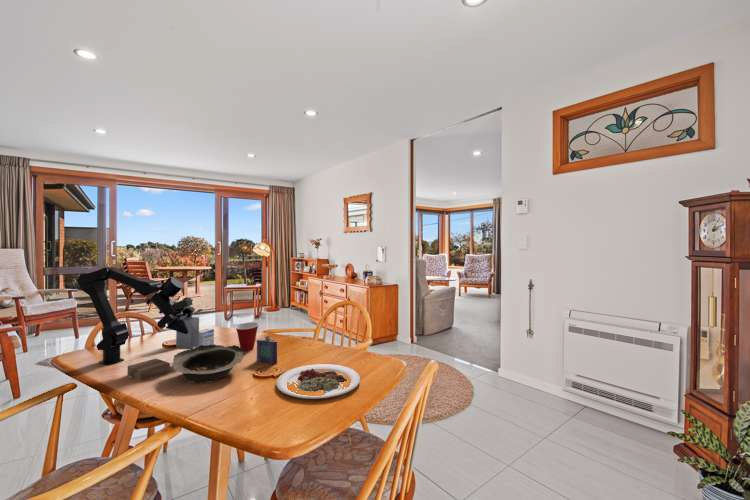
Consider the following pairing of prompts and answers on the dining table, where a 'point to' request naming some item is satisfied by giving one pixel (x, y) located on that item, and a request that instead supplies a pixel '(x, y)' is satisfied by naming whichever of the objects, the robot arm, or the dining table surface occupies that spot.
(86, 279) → the robot arm
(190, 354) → the stone bowl
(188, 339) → the slate tin
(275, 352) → the flask
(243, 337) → the plastic cup
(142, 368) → the walnut block
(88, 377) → the dining table surface
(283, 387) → the plated food
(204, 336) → the medicine box
